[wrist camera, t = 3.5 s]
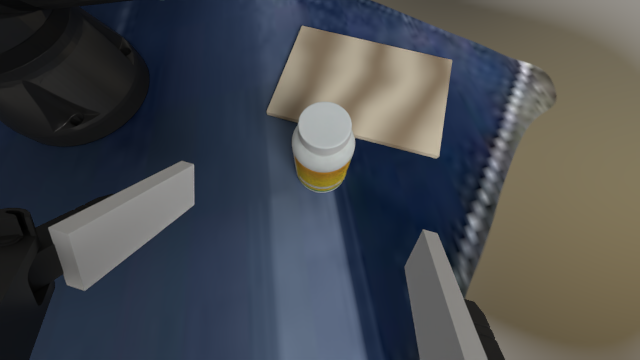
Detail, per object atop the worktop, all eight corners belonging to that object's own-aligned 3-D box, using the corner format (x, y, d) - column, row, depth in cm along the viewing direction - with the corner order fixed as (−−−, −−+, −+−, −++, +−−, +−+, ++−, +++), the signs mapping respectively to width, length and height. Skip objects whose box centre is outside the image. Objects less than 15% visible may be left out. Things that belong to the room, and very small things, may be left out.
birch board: (267, 114, 30) (266, 111, 29) (302, 29, 34) (302, 25, 34) (436, 158, 28) (439, 156, 28) (449, 63, 33) (452, 60, 32)
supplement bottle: (292, 154, 28) (281, 100, 19) (338, 143, 29) (349, 86, 20) (302, 199, 26) (296, 164, 17) (351, 187, 27) (370, 147, 18)
